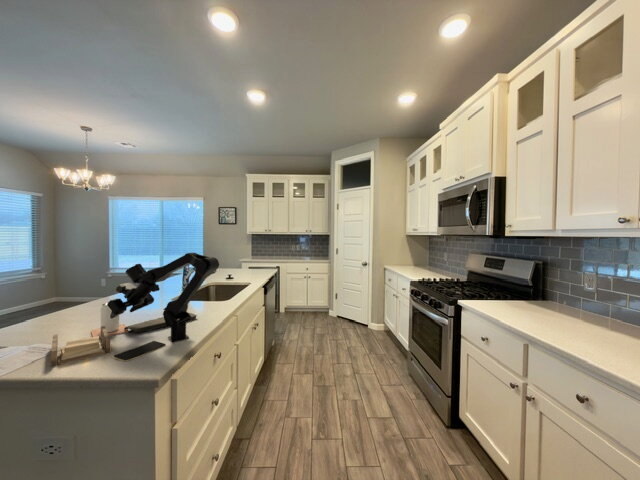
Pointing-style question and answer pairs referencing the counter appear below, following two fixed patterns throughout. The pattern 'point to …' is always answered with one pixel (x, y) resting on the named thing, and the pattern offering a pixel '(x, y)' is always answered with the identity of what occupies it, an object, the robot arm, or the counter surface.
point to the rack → (80, 348)
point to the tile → (121, 330)
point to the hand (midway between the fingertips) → (121, 314)
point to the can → (108, 319)
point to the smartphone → (139, 351)
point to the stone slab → (152, 324)
